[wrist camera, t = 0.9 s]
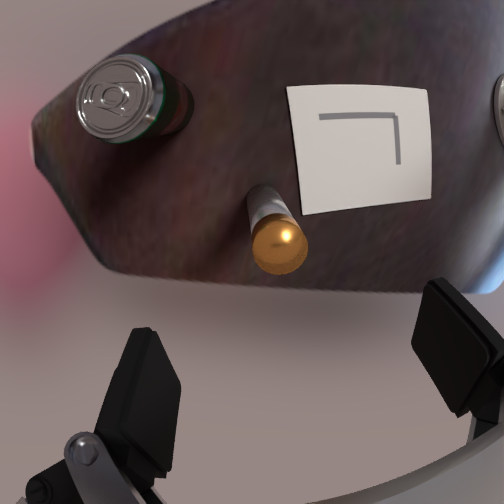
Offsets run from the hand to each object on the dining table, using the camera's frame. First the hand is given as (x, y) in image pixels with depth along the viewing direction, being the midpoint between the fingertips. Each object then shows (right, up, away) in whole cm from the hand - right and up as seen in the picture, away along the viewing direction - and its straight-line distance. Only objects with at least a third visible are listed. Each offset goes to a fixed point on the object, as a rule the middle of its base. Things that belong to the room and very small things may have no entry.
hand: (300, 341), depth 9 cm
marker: (-1, +8, +17) cm, 19 cm away
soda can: (-9, +16, +13) cm, 22 cm away
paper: (+10, +13, +15) cm, 22 cm away
